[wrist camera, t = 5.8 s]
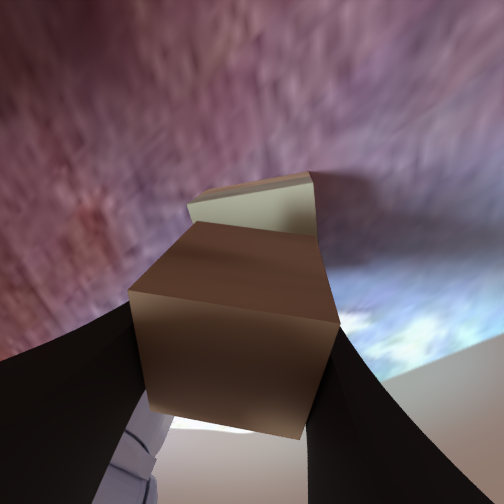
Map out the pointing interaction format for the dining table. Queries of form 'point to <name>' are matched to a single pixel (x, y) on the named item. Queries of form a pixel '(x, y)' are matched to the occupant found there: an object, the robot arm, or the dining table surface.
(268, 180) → the cream slab
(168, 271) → the walnut cube
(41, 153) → the dining table surface
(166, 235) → the dining table surface
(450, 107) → the dining table surface
